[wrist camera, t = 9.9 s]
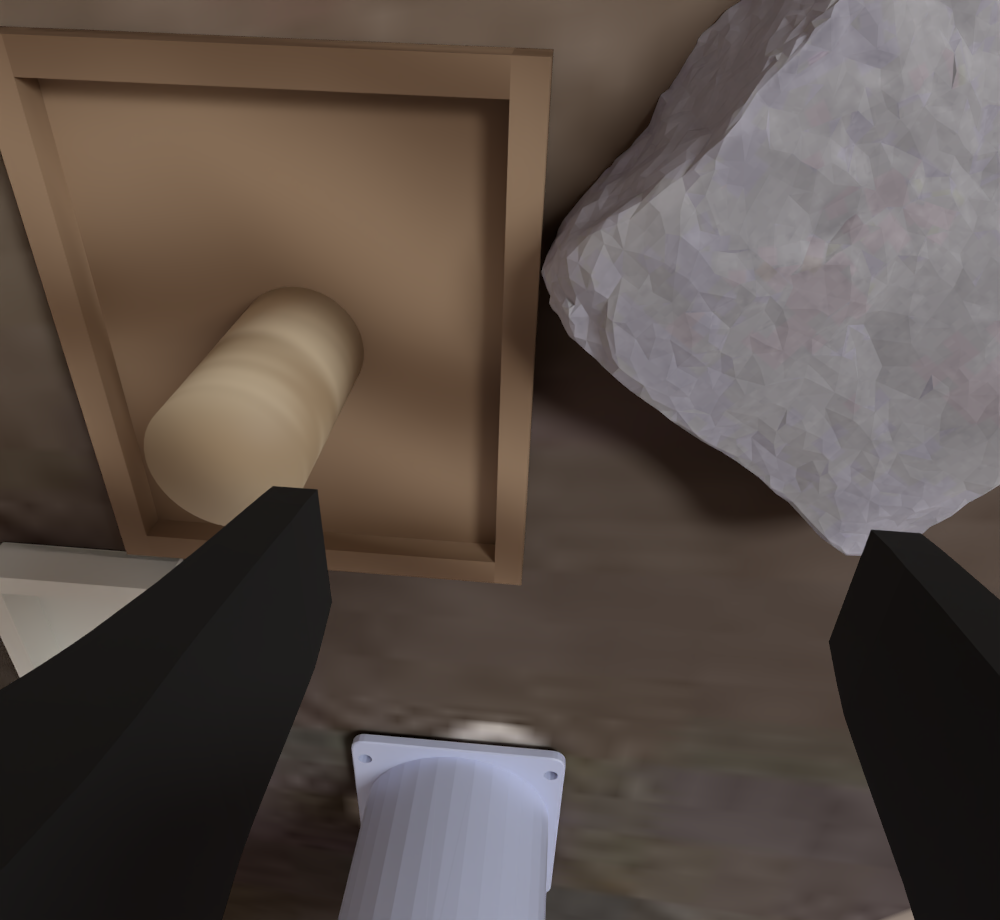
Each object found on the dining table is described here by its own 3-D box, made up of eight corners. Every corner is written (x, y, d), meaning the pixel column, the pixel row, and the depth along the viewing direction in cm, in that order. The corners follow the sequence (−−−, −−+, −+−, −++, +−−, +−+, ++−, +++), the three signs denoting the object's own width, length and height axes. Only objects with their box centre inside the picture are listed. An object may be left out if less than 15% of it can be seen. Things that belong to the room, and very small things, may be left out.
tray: (523, 558, 24) (520, 585, 23) (144, 529, 25) (126, 554, 24) (553, 49, 16) (552, 57, 15) (-1, 26, 17) (-37, 31, 16)
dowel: (366, 404, 21) (308, 534, 17) (249, 394, 21) (160, 520, 17) (361, 292, 19) (295, 403, 15) (233, 281, 19) (129, 388, 15)
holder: (214, 680, 29) (197, 716, 27) (55, 666, 29) (31, 702, 28) (182, 555, 25) (160, 590, 24) (3, 541, 26) (-29, 575, 24)
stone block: (800, -122, 16) (503, 271, 19) (933, -194, 12) (522, 329, 15) (1115, 235, 20) (824, 515, 23) (1303, 279, 16) (913, 617, 19)
